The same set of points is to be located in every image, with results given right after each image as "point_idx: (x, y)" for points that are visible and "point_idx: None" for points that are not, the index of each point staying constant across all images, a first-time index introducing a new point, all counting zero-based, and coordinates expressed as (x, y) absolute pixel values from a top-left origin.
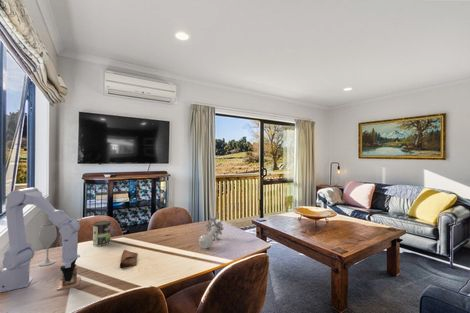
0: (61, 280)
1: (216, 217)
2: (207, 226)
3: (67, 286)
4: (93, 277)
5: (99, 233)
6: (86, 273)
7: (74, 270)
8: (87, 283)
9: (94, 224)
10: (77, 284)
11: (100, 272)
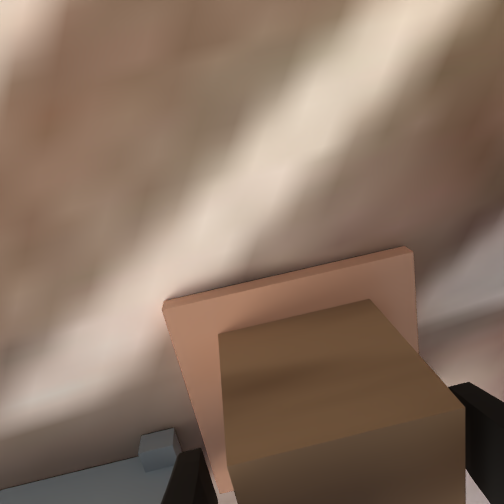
0: (220, 478)
1: None
2: None
3: None
4: (221, 98)
5: None
6: (39, 251)
7: (350, 466)
8: (392, 146)
9: None
10: (413, 269)
11: (41, 2)
